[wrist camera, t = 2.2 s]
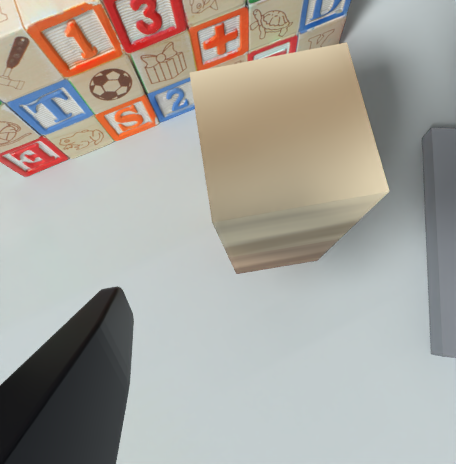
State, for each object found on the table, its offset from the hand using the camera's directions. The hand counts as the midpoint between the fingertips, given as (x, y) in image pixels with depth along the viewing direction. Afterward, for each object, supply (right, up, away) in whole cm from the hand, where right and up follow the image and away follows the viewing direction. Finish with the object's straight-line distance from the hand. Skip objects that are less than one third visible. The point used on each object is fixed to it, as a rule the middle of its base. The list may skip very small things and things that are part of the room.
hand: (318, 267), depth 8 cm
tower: (0, +1, +12) cm, 12 cm away
